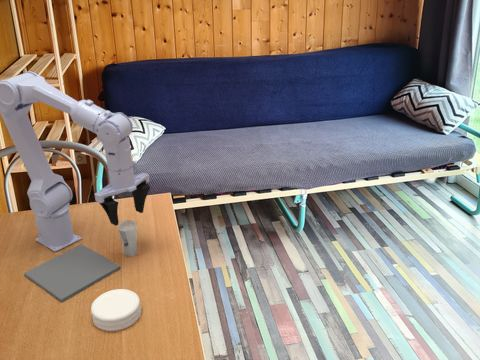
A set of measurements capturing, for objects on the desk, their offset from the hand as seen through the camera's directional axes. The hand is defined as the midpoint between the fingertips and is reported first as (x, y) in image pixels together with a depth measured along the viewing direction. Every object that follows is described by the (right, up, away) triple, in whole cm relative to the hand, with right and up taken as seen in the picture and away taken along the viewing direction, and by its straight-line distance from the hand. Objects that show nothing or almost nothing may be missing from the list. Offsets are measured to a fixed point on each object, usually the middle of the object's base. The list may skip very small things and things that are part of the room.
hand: (127, 217), depth 123 cm
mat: (-13, -13, -2) cm, 18 cm away
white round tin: (+2, -20, -16) cm, 26 cm away
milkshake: (0, -10, +5) cm, 11 cm away
